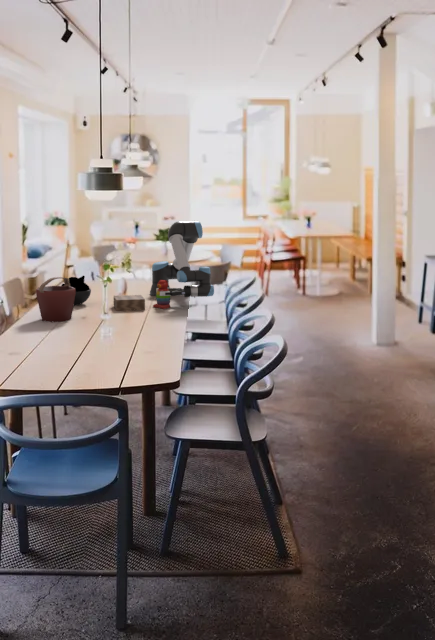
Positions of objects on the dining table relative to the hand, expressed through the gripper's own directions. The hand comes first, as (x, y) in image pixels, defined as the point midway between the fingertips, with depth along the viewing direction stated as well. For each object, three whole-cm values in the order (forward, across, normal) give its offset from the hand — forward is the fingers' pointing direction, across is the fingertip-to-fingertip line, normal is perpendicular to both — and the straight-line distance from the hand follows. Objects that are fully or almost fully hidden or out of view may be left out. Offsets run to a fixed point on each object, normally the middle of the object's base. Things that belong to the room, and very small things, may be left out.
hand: (158, 292), depth 511 cm
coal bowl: (+51, +21, -10) cm, 56 cm away
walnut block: (+19, 0, -10) cm, 21 cm away
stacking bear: (-3, 0, -10) cm, 11 cm away
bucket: (+65, -31, -10) cm, 73 cm away
